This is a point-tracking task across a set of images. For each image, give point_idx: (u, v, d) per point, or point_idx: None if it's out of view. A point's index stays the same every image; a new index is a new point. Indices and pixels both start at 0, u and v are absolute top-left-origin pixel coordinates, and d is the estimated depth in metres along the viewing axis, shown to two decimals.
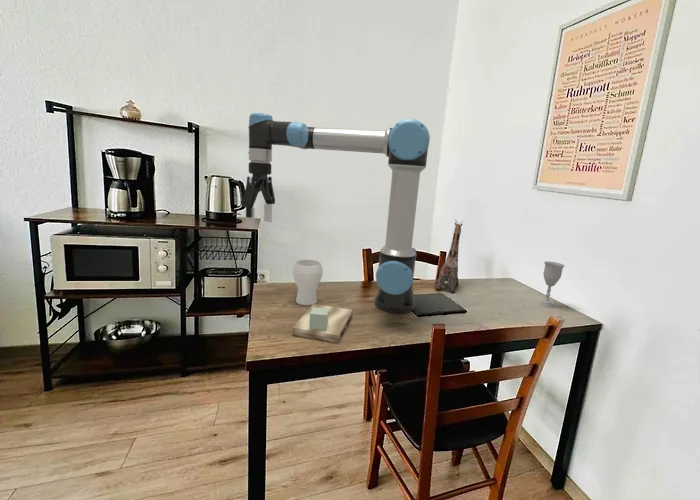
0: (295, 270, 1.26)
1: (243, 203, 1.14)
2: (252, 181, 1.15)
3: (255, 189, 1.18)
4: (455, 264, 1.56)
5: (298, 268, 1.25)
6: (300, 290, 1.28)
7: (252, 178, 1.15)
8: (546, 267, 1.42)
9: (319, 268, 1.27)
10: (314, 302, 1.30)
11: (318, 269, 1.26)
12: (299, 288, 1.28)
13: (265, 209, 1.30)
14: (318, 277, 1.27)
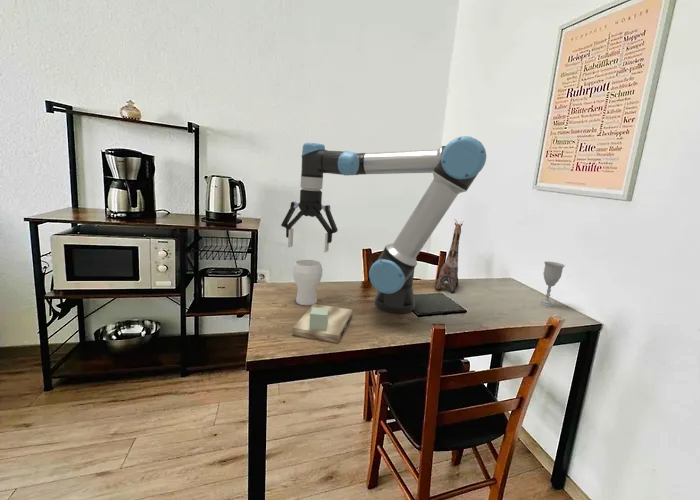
0: (295, 270, 1.26)
1: None
2: None
3: (298, 214, 1.25)
4: (455, 264, 1.56)
5: (298, 268, 1.25)
6: (300, 290, 1.28)
7: None
8: (546, 267, 1.42)
9: (319, 268, 1.27)
10: (314, 302, 1.30)
11: (318, 269, 1.26)
12: (299, 288, 1.28)
13: None
14: (318, 277, 1.27)
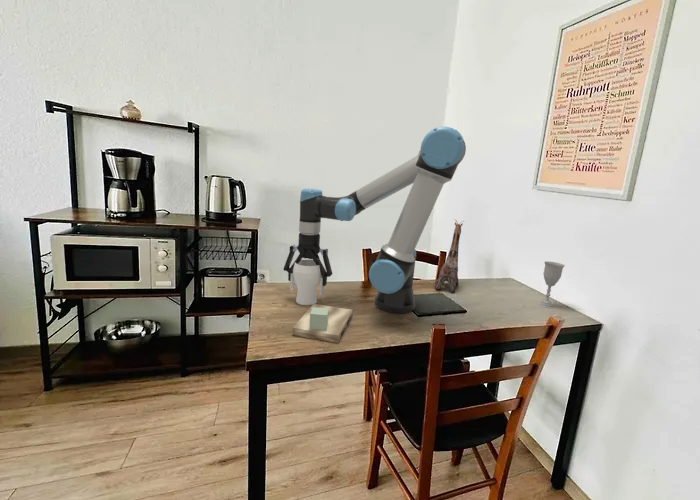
0: (295, 270, 1.26)
1: None
2: None
3: (297, 257, 1.28)
4: (455, 264, 1.56)
5: (298, 268, 1.25)
6: (300, 290, 1.28)
7: None
8: (546, 267, 1.42)
9: (319, 268, 1.27)
10: (314, 302, 1.30)
11: (318, 269, 1.26)
12: (299, 288, 1.28)
13: None
14: (318, 277, 1.27)
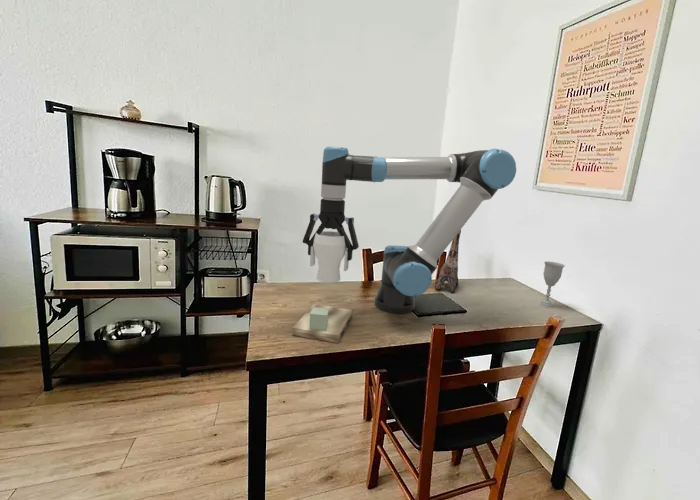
0: (316, 241, 1.09)
1: None
2: None
3: None
4: (455, 264, 1.56)
5: (320, 239, 1.08)
6: (321, 265, 1.11)
7: None
8: (546, 267, 1.42)
9: None
10: (337, 279, 1.13)
11: (343, 241, 1.09)
12: (320, 263, 1.11)
13: None
14: (342, 250, 1.10)
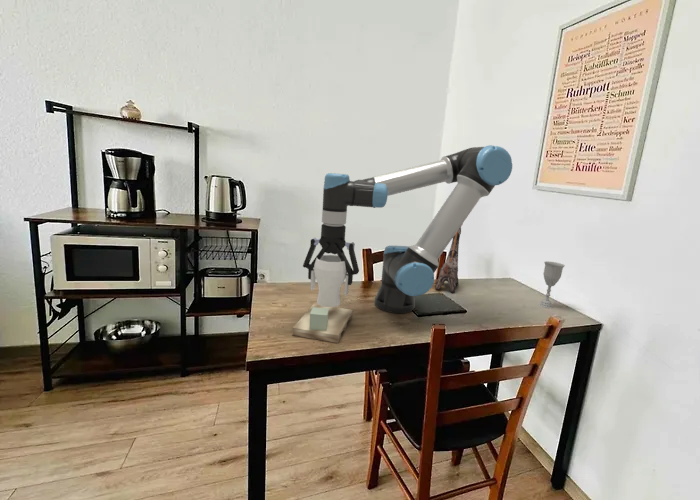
0: (317, 267, 1.10)
1: None
2: None
3: (319, 252, 1.12)
4: (455, 264, 1.56)
5: (321, 264, 1.09)
6: (322, 290, 1.12)
7: None
8: (546, 267, 1.42)
9: (344, 264, 1.10)
10: (338, 303, 1.14)
11: (343, 266, 1.10)
12: (321, 287, 1.12)
13: None
14: (343, 275, 1.10)
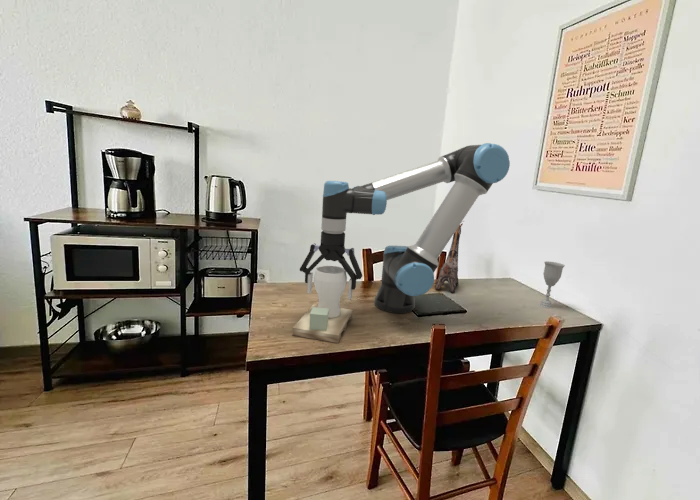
0: (317, 278, 1.11)
1: None
2: None
3: None
4: (455, 264, 1.56)
5: (320, 276, 1.10)
6: (322, 301, 1.13)
7: (311, 245, 1.12)
8: (546, 267, 1.42)
9: (344, 276, 1.11)
10: (338, 314, 1.15)
11: (343, 277, 1.11)
12: (321, 298, 1.13)
13: None
14: (343, 286, 1.11)
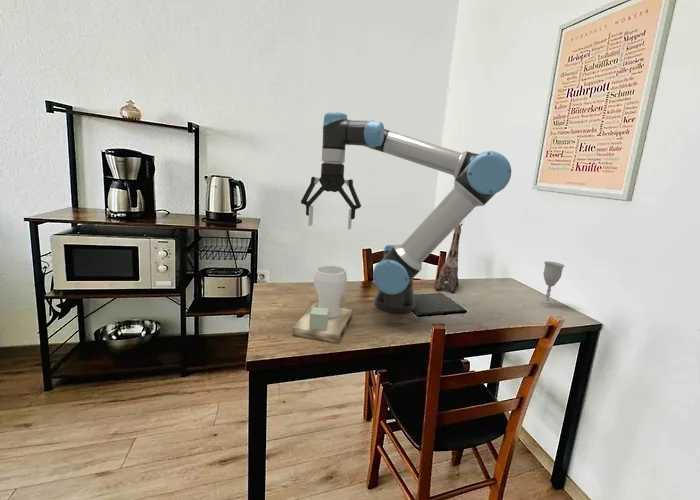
0: (317, 278, 1.11)
1: None
2: None
3: (319, 189, 1.18)
4: (455, 264, 1.56)
5: (320, 276, 1.10)
6: (322, 301, 1.13)
7: None
8: (546, 267, 1.42)
9: (344, 276, 1.11)
10: (338, 314, 1.15)
11: (343, 277, 1.11)
12: (321, 298, 1.13)
13: None
14: (343, 286, 1.11)
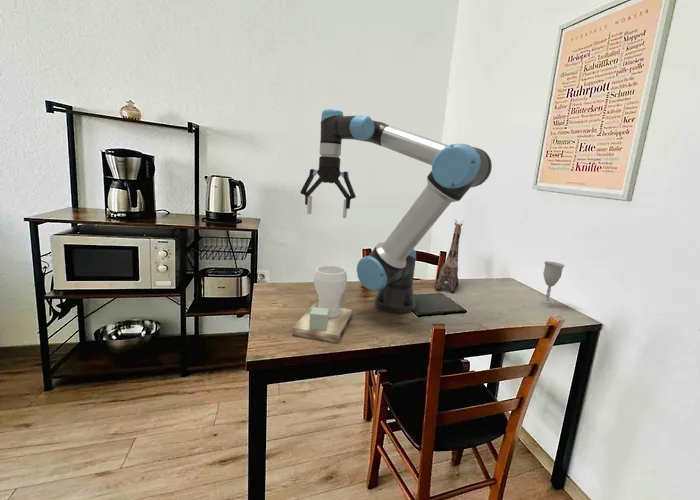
0: (317, 278, 1.11)
1: None
2: None
3: None
4: (455, 264, 1.56)
5: (320, 276, 1.10)
6: (322, 301, 1.13)
7: None
8: (546, 267, 1.42)
9: (344, 276, 1.11)
10: (338, 314, 1.15)
11: (343, 277, 1.11)
12: (321, 298, 1.13)
13: None
14: (343, 286, 1.11)
